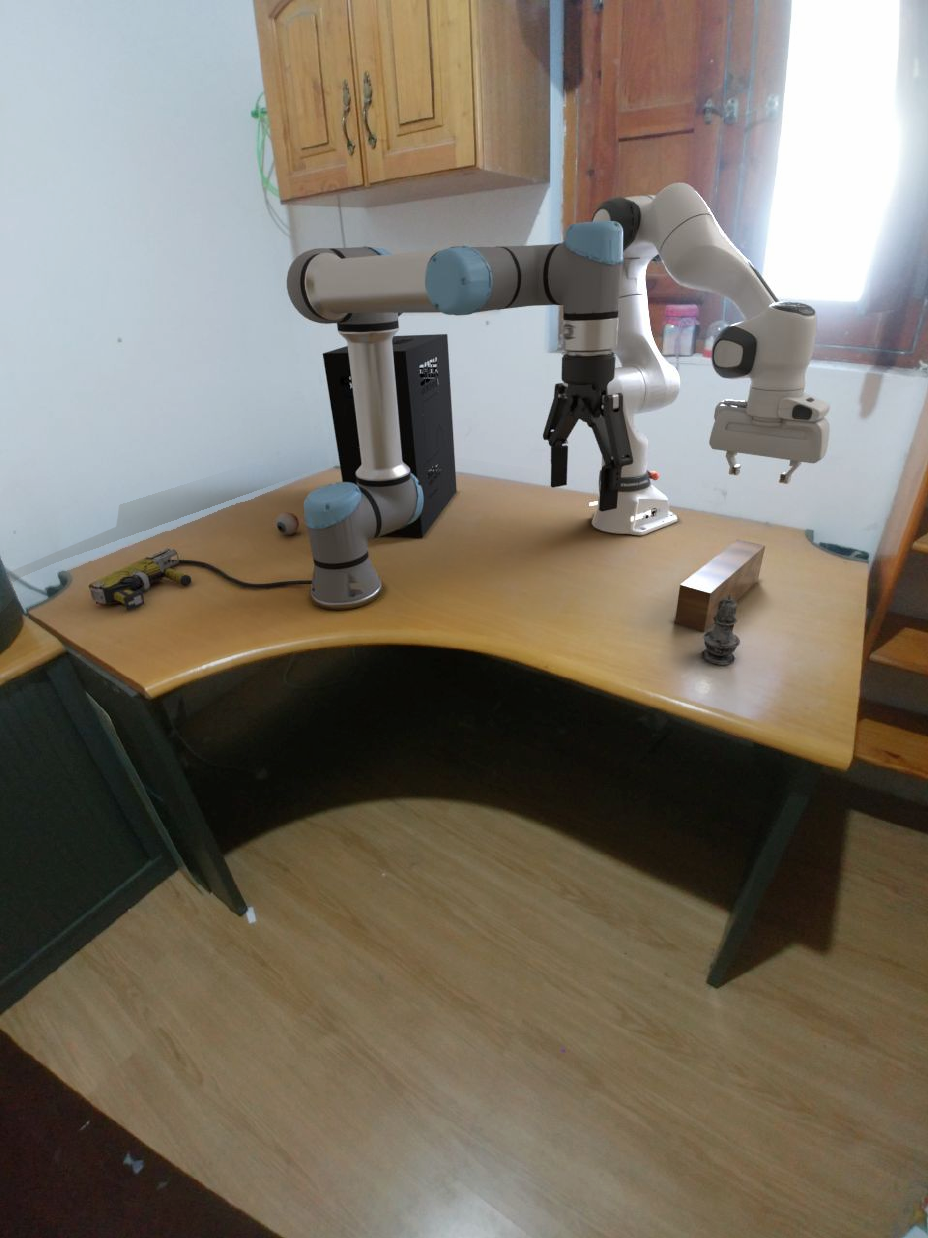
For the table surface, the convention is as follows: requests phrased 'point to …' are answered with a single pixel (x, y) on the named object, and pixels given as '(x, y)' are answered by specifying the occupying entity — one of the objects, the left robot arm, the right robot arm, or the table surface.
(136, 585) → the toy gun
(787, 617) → the table surface
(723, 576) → the bar
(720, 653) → the dark grey tiered figure
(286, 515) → the eyeball
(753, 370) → the right robot arm
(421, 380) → the black computer tower
